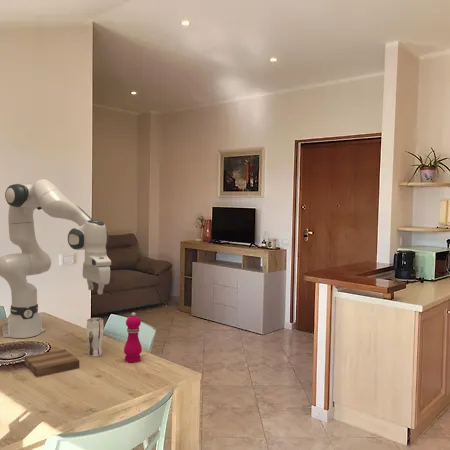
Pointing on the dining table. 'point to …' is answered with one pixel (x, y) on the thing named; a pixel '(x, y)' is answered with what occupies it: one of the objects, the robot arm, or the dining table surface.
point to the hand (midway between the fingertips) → (95, 291)
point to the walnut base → (51, 362)
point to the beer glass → (94, 336)
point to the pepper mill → (132, 339)
